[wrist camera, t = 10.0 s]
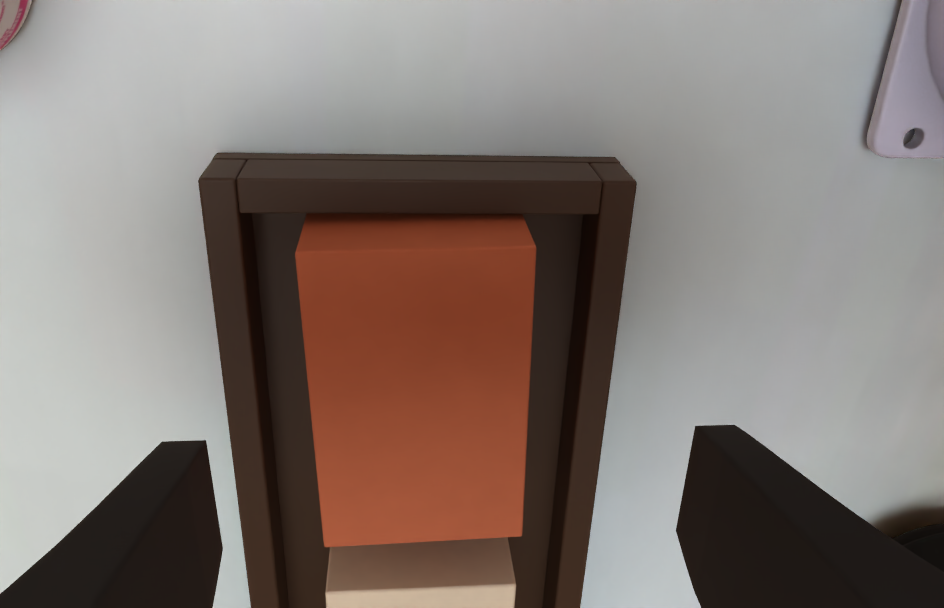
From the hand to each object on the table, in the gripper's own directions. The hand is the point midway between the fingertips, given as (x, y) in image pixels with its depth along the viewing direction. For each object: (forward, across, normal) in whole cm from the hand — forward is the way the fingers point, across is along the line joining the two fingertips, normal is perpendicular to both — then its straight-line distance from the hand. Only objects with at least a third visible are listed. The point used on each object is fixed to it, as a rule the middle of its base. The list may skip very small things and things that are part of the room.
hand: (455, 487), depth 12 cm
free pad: (+9, 0, +3) cm, 9 cm away
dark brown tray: (+9, 0, +7) cm, 12 cm away
